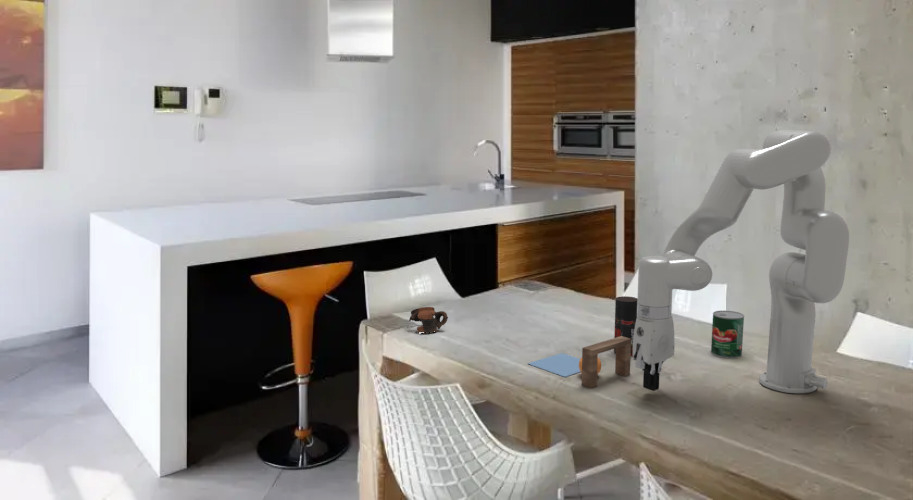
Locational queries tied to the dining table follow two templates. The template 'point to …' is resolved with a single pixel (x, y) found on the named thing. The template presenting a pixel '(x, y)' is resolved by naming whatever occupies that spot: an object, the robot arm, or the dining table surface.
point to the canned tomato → (727, 334)
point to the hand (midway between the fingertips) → (650, 388)
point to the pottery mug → (428, 319)
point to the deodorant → (625, 318)
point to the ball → (597, 365)
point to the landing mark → (559, 364)
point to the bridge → (593, 350)
